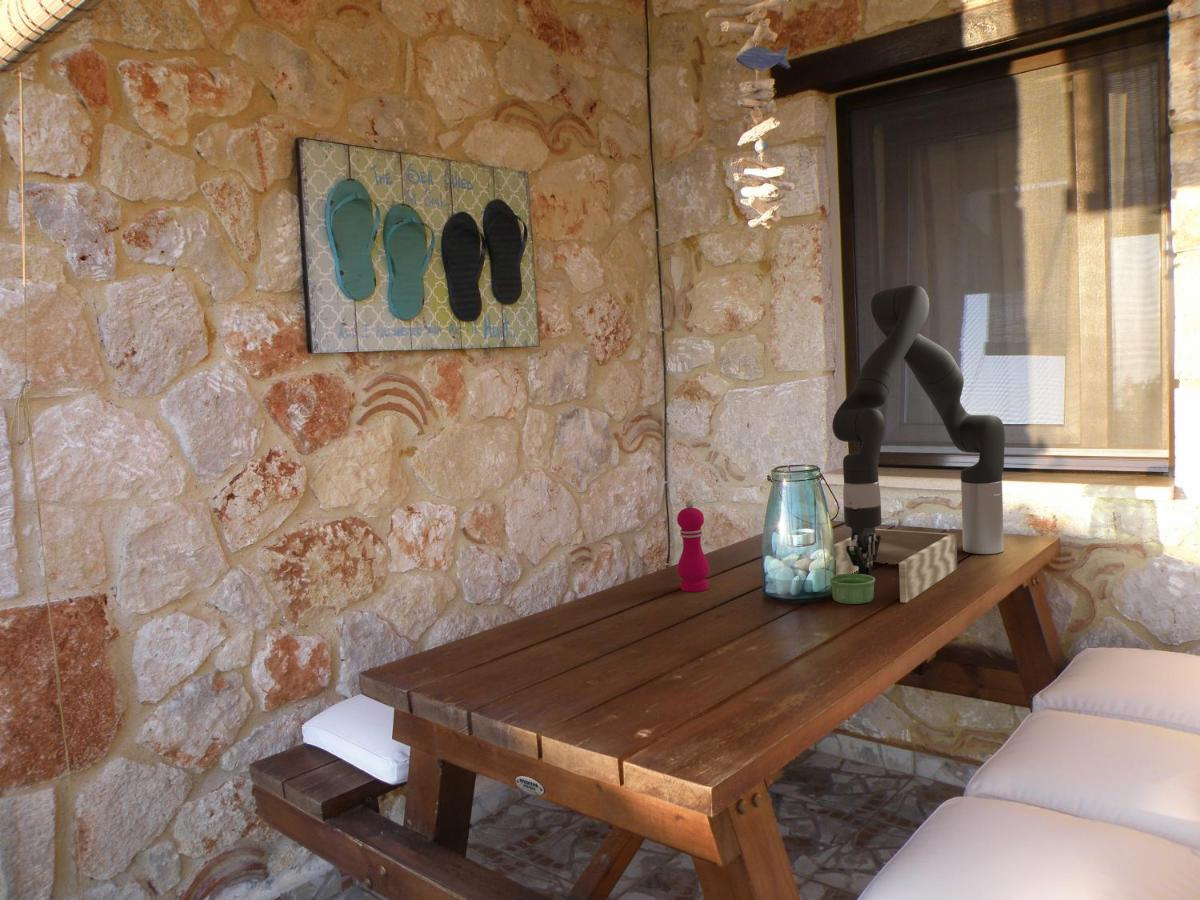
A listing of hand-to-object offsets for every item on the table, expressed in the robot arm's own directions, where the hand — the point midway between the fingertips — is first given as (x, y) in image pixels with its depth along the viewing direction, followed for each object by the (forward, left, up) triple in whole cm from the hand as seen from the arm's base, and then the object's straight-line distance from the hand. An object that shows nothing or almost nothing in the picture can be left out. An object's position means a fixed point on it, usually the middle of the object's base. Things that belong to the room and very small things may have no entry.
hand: (865, 583), depth 192 cm
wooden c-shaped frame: (-11, 0, -2) cm, 11 cm away
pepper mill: (+13, -35, -2) cm, 37 cm away
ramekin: (+7, 0, -2) cm, 7 cm away
